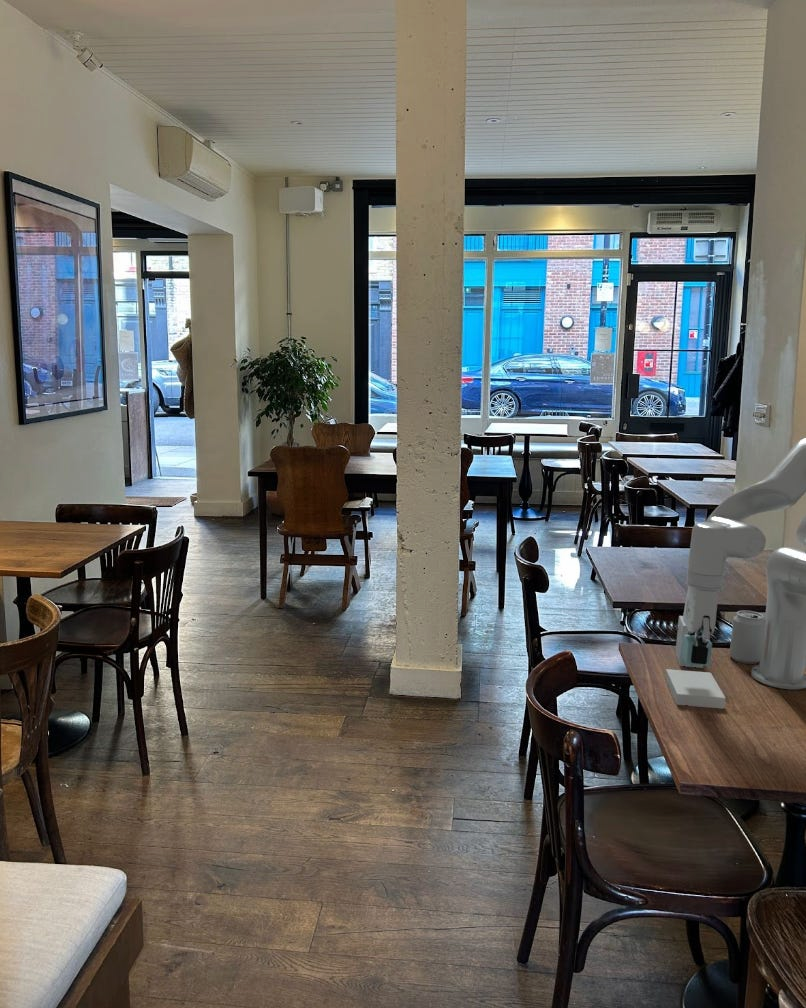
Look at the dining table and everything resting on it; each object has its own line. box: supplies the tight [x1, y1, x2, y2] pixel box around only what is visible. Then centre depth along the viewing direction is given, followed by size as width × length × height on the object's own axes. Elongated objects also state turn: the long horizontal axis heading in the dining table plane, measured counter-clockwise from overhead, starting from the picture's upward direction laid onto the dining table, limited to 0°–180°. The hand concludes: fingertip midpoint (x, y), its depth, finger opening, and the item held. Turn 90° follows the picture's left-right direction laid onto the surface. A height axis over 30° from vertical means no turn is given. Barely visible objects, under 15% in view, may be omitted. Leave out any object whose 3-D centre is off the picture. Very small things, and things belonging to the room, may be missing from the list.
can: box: [729, 610, 765, 665], centre depth 203 cm, size 8×8×12 cm
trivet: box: [664, 668, 726, 710], centre depth 182 cm, size 14×10×2 cm
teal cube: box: [682, 635, 713, 667], centre depth 181 cm, size 5×5×5 cm
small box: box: [675, 615, 704, 669], centre depth 200 cm, size 8×6×10 cm
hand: (695, 657), depth 181 cm, fingers closed on teal cube, 5 cm apart
